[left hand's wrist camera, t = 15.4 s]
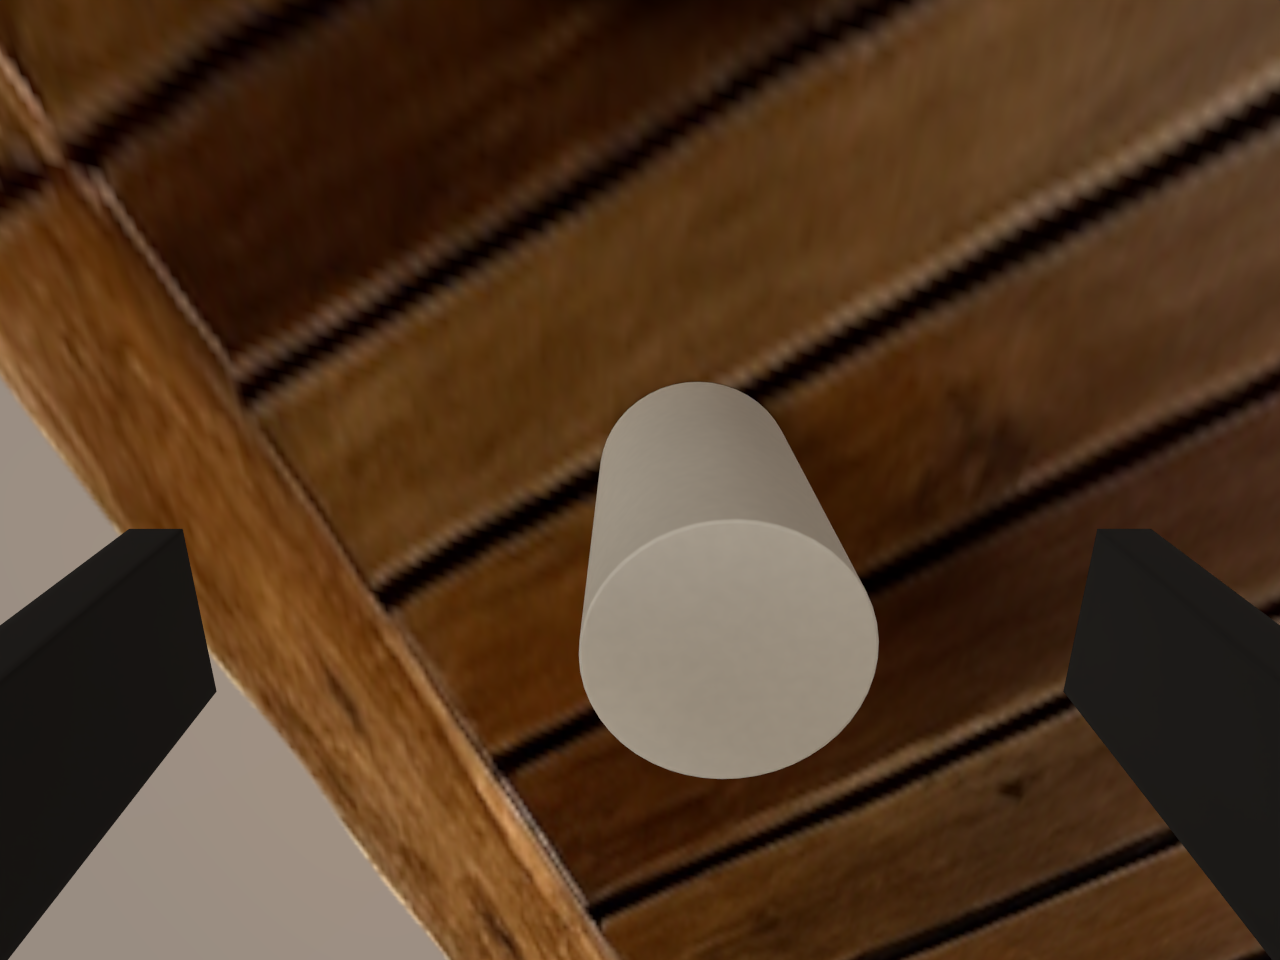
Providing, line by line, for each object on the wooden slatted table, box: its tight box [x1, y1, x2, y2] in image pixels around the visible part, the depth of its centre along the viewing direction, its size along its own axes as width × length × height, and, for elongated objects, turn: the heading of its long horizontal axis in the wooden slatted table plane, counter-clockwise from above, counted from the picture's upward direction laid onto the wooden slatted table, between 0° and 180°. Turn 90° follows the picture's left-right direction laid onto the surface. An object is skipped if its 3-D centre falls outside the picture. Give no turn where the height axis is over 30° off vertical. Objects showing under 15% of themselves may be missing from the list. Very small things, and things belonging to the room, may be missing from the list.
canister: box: [579, 382, 879, 779], centre depth 24 cm, size 7×7×12 cm
